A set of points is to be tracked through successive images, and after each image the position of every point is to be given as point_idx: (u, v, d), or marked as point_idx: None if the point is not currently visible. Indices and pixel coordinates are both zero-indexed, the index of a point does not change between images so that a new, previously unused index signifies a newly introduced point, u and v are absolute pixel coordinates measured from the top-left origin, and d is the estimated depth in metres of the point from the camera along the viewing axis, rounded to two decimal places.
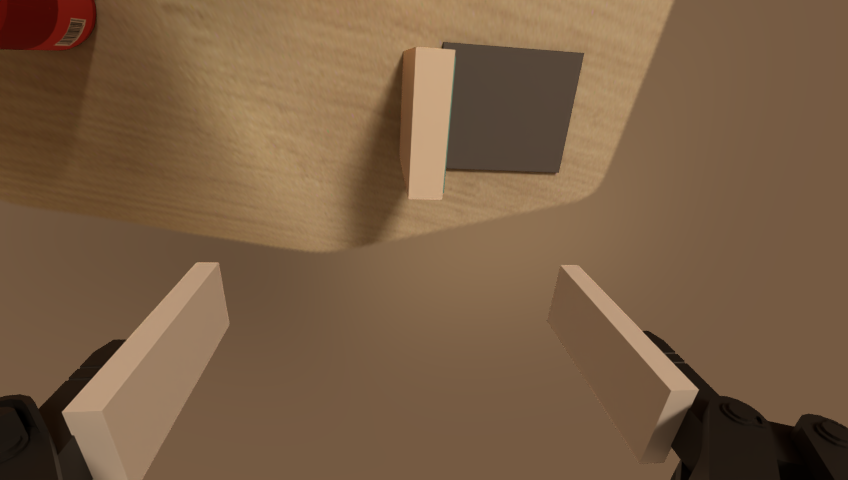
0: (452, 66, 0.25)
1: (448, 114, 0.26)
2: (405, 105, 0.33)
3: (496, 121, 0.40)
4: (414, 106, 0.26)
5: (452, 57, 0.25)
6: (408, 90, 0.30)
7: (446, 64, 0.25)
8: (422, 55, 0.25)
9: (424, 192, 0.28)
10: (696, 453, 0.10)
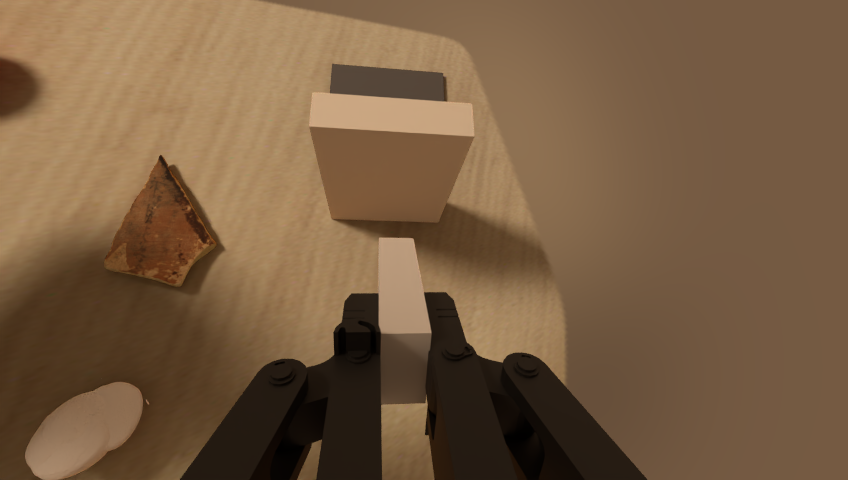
0: (328, 94, 0.24)
1: (377, 97, 0.24)
2: (379, 189, 0.31)
3: None
4: (369, 128, 0.23)
5: (320, 94, 0.24)
6: (360, 170, 0.28)
7: (326, 100, 0.24)
8: (317, 120, 0.23)
9: (465, 120, 0.25)
10: (435, 399, 0.11)
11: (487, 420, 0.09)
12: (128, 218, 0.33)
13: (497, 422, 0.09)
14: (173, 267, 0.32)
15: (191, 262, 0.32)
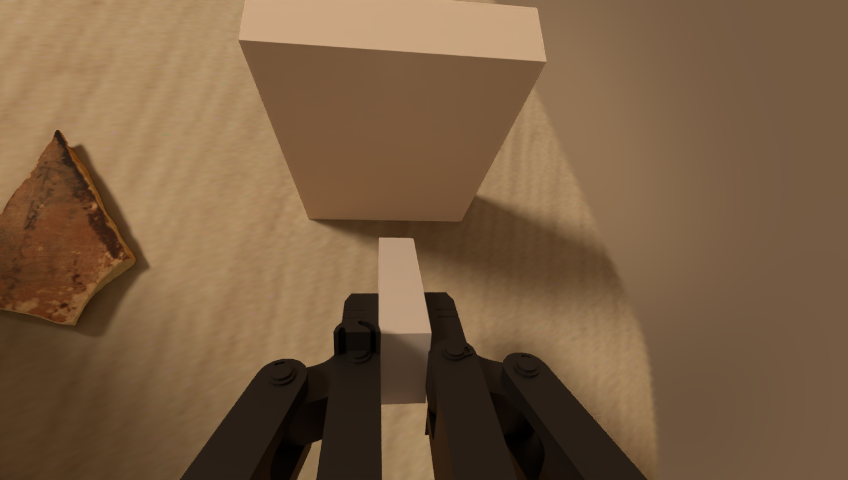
0: None
1: None
2: (376, 171, 0.20)
3: None
4: (354, 45, 0.12)
5: None
6: (344, 137, 0.17)
7: None
8: (255, 30, 0.12)
9: (527, 34, 0.14)
10: (435, 399, 0.11)
11: (487, 420, 0.09)
12: None
13: (497, 422, 0.09)
14: (62, 296, 0.21)
15: (92, 288, 0.21)
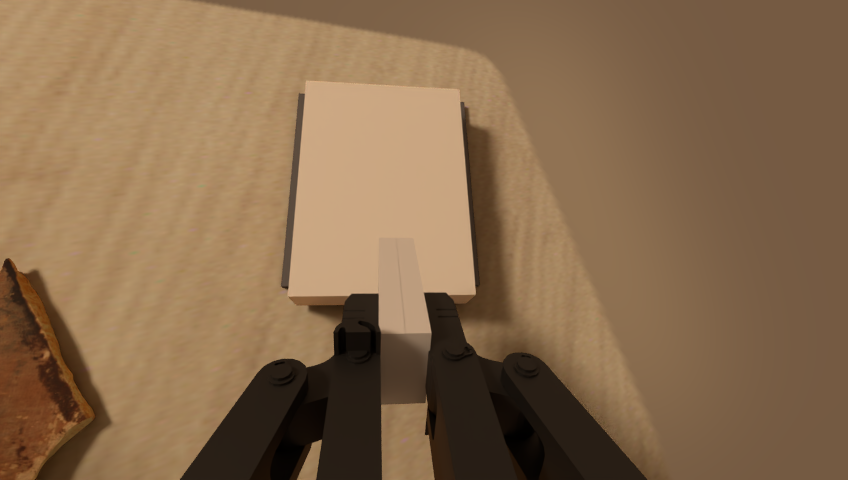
0: None
1: None
2: (372, 189, 0.23)
3: None
4: (362, 84, 0.25)
5: None
6: (349, 147, 0.24)
7: None
8: None
9: None
10: (435, 399, 0.11)
11: (487, 420, 0.09)
12: None
13: (497, 422, 0.09)
14: (3, 477, 0.18)
15: (40, 462, 0.18)
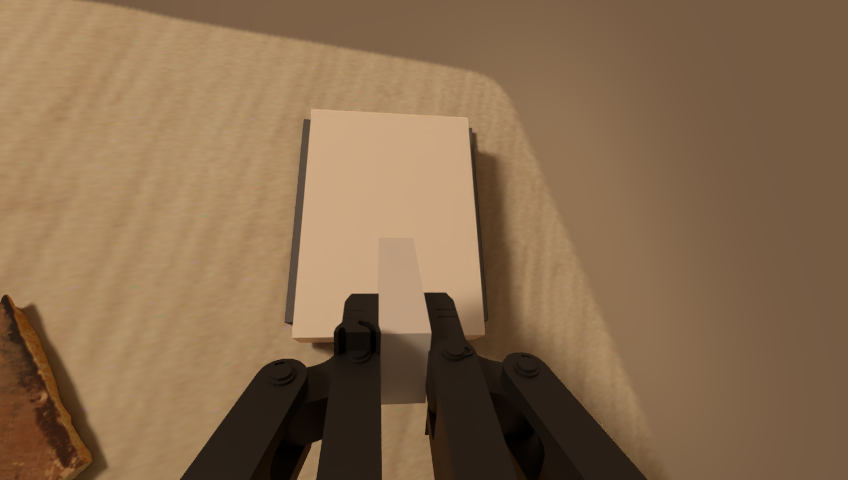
0: None
1: None
2: (378, 223, 0.22)
3: None
4: (368, 113, 0.25)
5: None
6: (355, 179, 0.23)
7: None
8: None
9: None
10: (435, 399, 0.11)
11: (487, 420, 0.09)
12: None
13: (497, 422, 0.09)
14: None
15: None
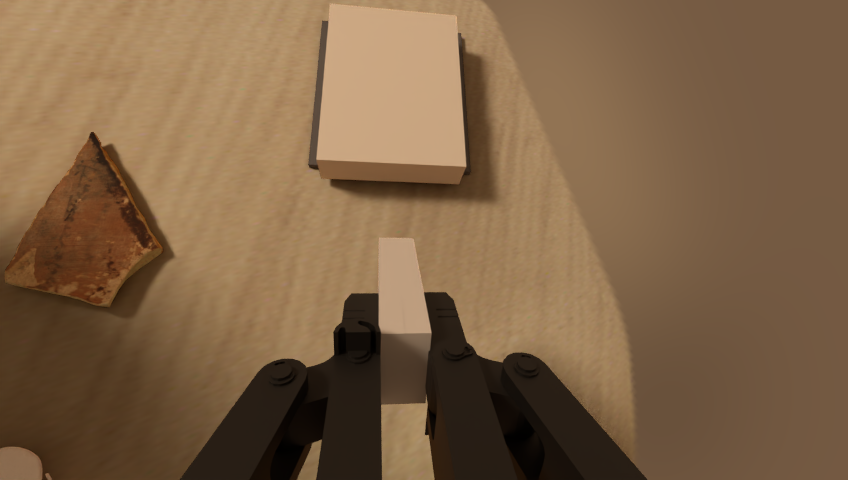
0: None
1: None
2: (383, 86, 0.28)
3: None
4: None
5: None
6: (365, 54, 0.29)
7: None
8: None
9: None
10: (435, 399, 0.11)
11: (487, 420, 0.09)
12: (41, 215, 0.24)
13: (497, 422, 0.09)
14: (98, 280, 0.23)
15: (125, 273, 0.23)
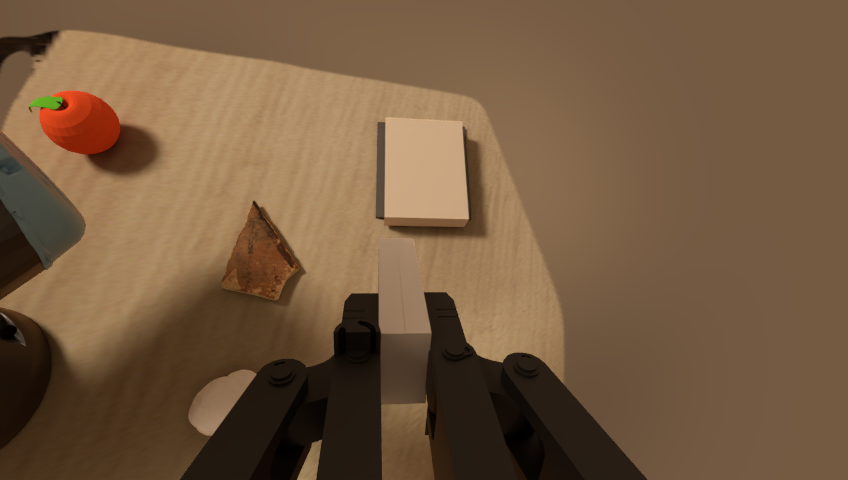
0: None
1: None
2: (419, 170, 0.48)
3: None
4: (413, 119, 0.50)
5: None
6: (408, 150, 0.49)
7: None
8: None
9: None
10: (435, 399, 0.11)
11: (487, 420, 0.09)
12: (235, 250, 0.44)
13: (497, 422, 0.09)
14: (271, 286, 0.43)
15: (284, 282, 0.43)
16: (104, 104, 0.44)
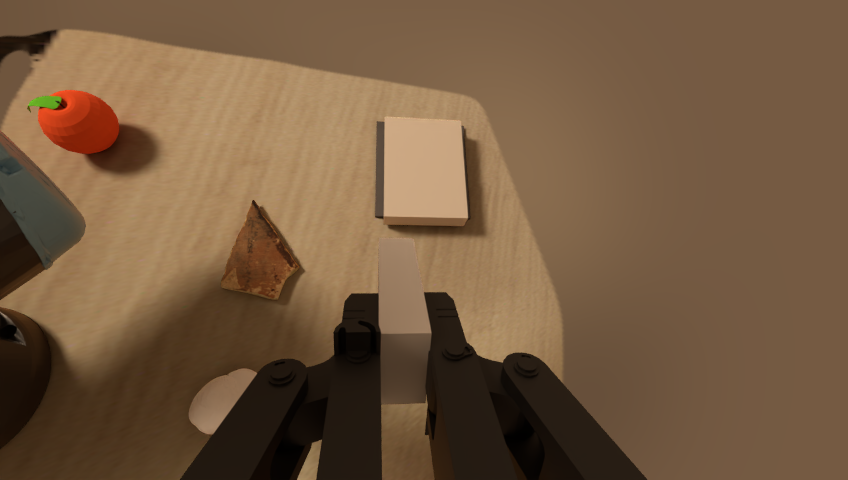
0: None
1: None
2: (419, 169, 0.48)
3: None
4: (412, 118, 0.51)
5: None
6: (407, 149, 0.49)
7: None
8: None
9: None
10: (435, 399, 0.11)
11: (487, 420, 0.09)
12: (234, 249, 0.44)
13: (497, 422, 0.09)
14: (271, 285, 0.43)
15: (283, 281, 0.43)
16: (103, 103, 0.44)
